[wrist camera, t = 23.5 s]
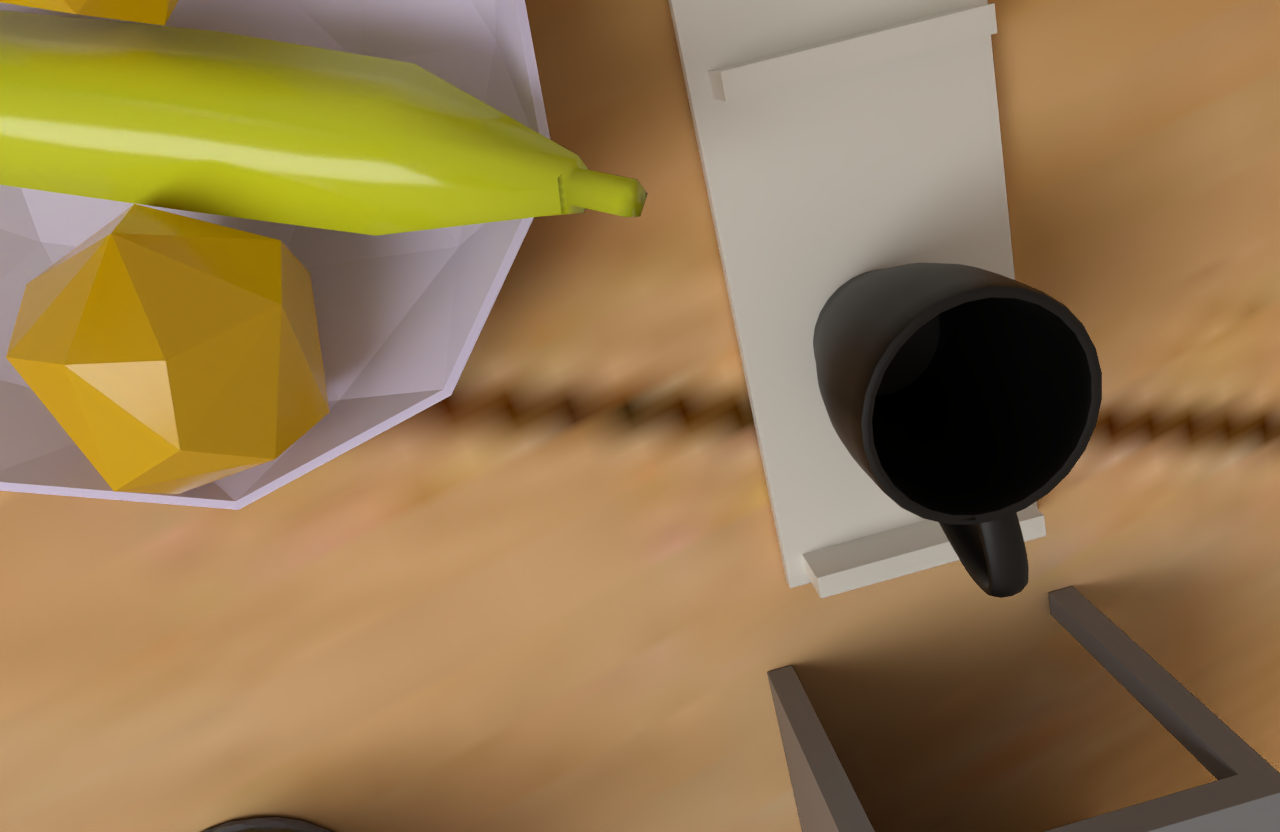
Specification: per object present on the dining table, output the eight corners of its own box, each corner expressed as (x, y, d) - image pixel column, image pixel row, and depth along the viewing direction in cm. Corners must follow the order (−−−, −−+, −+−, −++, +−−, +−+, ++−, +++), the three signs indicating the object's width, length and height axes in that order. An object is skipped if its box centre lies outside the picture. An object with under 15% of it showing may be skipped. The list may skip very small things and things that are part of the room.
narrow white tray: (621, -230, 34) (656, -308, 27) (948, -306, 35) (1070, -403, 27) (786, 581, 45) (842, 681, 38) (1032, 513, 46) (1133, 599, 39)
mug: (822, 531, 44) (905, 650, 35) (759, 269, 40) (837, 330, 31) (1000, 475, 44) (1127, 579, 35) (957, 209, 40) (1089, 251, 31)
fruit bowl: (-337, 287, 36) (-689, 383, 25) (-129, -555, 29) (-484, -906, 19) (415, 565, 43) (390, 730, 32) (713, -58, 37) (803, -107, 26)
